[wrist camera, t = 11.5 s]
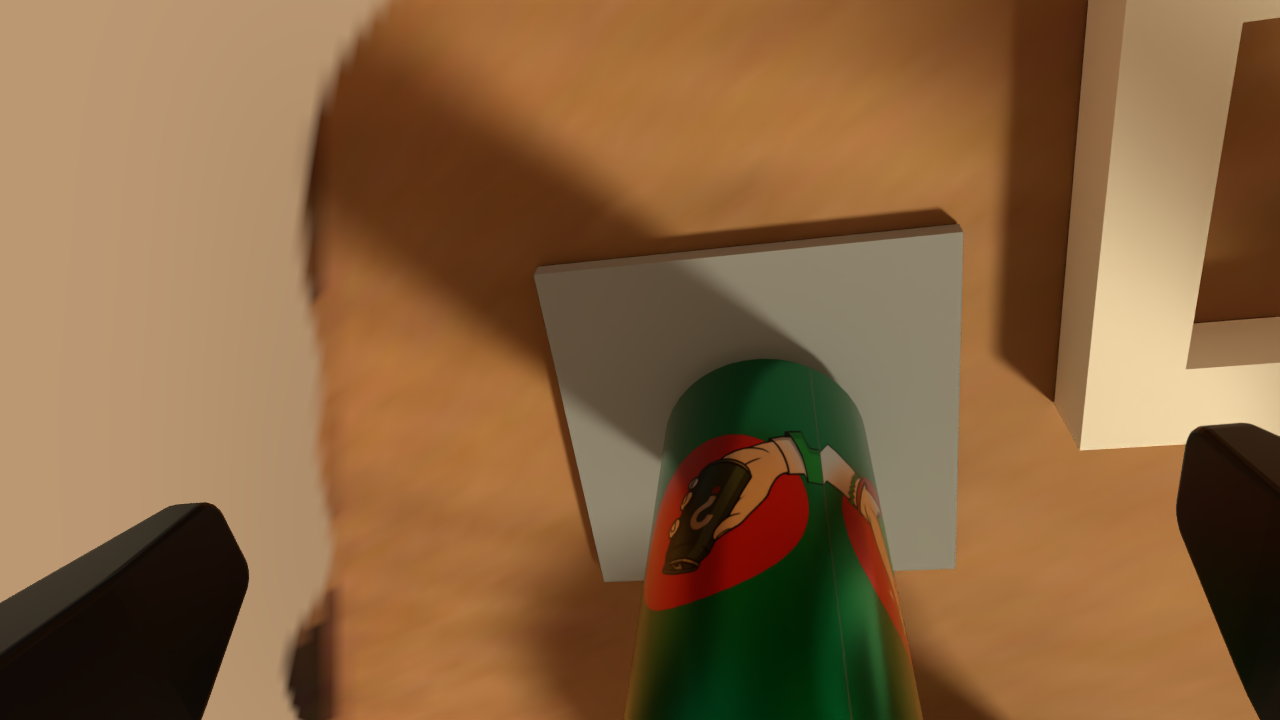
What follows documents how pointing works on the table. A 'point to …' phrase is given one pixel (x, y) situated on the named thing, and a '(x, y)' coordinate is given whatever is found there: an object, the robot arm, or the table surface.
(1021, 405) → the table surface
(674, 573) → the soda can
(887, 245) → the grey mat
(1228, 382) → the block
